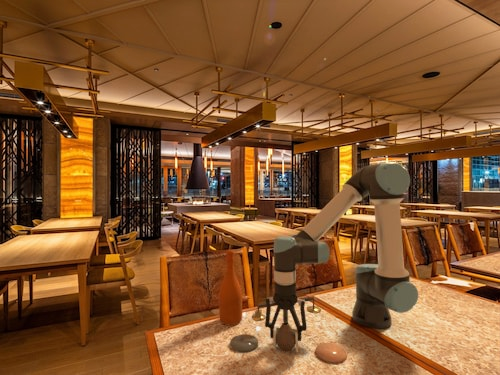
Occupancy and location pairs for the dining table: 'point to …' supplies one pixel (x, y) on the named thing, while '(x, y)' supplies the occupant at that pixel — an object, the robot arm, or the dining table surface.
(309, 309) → the balance
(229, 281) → the wine bottle
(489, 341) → the dining table surface
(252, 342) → the dish
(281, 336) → the vase
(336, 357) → the dish
